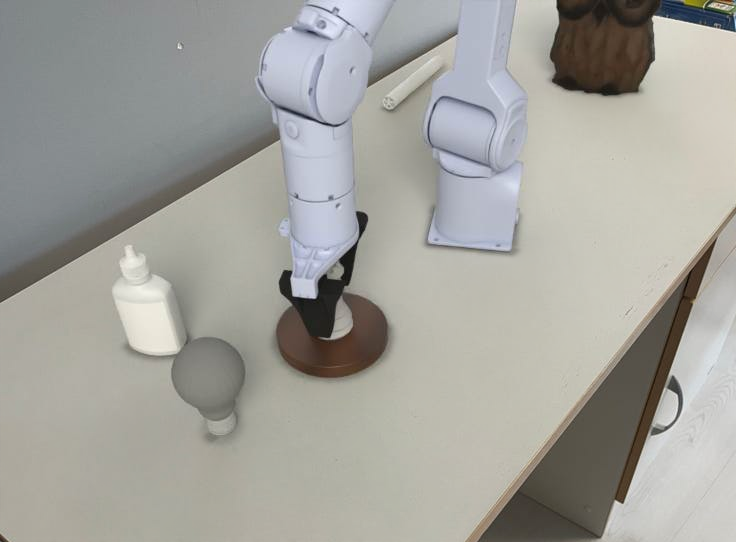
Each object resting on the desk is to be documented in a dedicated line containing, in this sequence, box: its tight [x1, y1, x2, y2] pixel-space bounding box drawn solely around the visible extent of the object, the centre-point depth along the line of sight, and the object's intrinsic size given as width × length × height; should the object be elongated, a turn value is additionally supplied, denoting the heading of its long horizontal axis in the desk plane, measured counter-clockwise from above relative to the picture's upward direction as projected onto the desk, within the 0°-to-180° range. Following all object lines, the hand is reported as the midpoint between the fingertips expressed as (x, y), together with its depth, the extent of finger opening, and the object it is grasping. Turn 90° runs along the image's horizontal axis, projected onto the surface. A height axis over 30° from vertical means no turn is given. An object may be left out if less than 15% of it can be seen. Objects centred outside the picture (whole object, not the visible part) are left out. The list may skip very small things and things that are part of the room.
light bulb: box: [170, 336, 246, 436], centre depth 60 cm, size 6×6×10 cm
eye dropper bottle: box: [111, 244, 188, 357], centre depth 68 cm, size 4×6×12 cm
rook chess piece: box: [318, 260, 353, 340], centre depth 68 cm, size 4×4×8 cm
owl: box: [549, 0, 663, 97], centre depth 103 cm, size 13×13×20 cm
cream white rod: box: [382, 55, 445, 110], centre depth 110 cm, size 18×2×2 cm, turn 149°
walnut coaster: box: [275, 291, 389, 379], centre depth 71 cm, size 11×11×2 cm
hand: (330, 307), depth 69 cm, fingers open, 7 cm apart
